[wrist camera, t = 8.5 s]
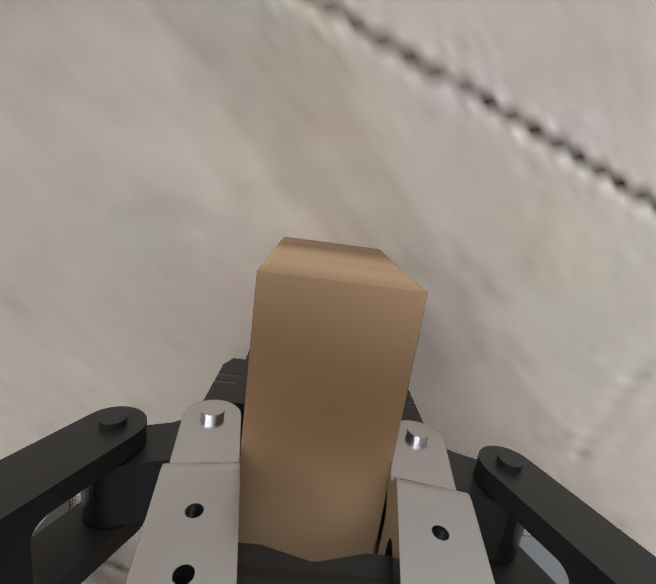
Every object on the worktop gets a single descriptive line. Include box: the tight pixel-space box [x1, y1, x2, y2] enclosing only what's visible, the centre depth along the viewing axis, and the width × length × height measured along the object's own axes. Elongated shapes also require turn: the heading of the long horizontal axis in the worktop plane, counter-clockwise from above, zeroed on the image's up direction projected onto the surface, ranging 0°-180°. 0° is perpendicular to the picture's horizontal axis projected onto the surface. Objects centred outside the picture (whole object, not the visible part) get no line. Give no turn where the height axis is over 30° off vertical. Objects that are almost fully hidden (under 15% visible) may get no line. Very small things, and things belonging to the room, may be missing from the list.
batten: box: [238, 237, 428, 562], centre depth 12 cm, size 19×3×6 cm, turn 172°
